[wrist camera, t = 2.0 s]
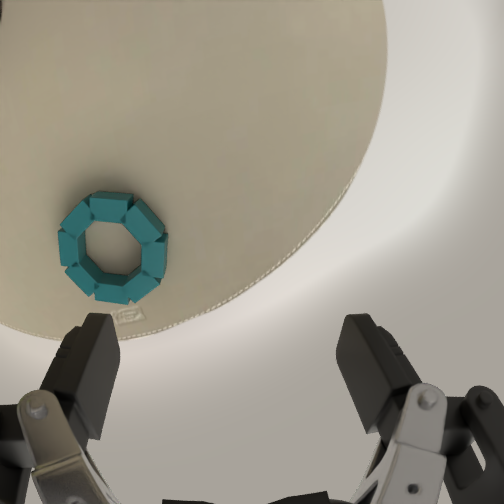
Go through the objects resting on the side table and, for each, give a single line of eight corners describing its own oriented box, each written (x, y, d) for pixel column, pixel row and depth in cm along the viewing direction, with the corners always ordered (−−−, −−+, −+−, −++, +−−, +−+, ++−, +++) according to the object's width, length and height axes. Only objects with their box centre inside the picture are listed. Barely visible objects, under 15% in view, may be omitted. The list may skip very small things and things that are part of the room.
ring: (72, 285, 29) (65, 295, 27) (65, 188, 24) (55, 195, 23) (165, 297, 30) (162, 309, 28) (170, 197, 26) (167, 204, 24)
